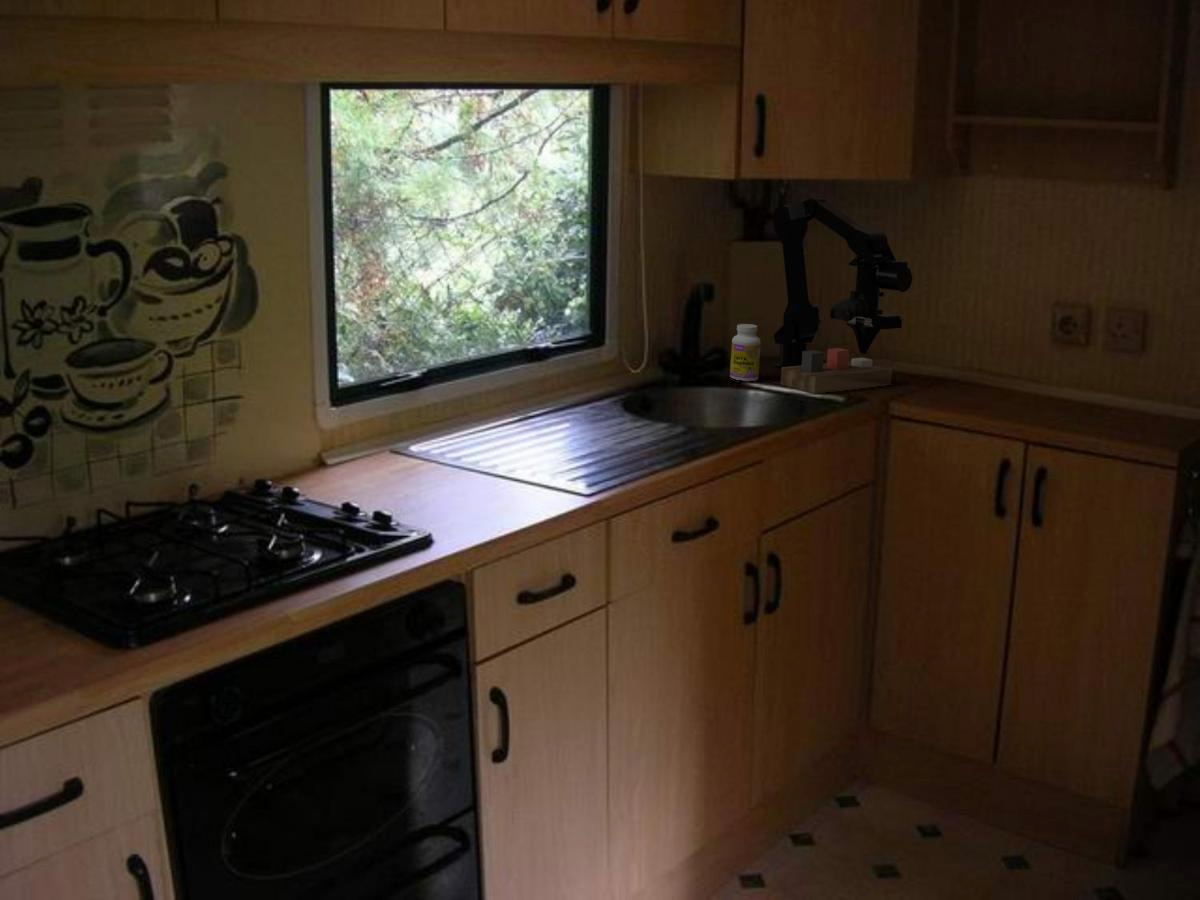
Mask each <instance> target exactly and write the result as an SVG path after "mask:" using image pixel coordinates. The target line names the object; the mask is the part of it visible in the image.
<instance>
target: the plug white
mask: <svg viewBox="0 0 1200 900" xmlns="http://www.w3.org/2000/svg"><path fill="white" fill-rule="evenodd" d="M851 360H852V363H851V365H852V366H856V367H860V368H864V367H872V364H873V359H870V358H867V357H866V358H865V357H856V358H853V357H852V358H851Z"/></svg>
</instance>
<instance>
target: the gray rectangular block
mask: <svg viewBox="0 0 1200 900" xmlns="http://www.w3.org/2000/svg"><path fill="white" fill-rule="evenodd" d="M824 354H825V353H824V352H823V351H818V350H814V349H813V350H806V351H802V368H801V370H802V371H805V372H809V373H815V372H823V363H824V356H825V355H824Z"/></svg>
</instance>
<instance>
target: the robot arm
mask: <svg viewBox="0 0 1200 900" xmlns="http://www.w3.org/2000/svg"><path fill="white" fill-rule="evenodd" d="M771 219H772V224H773V230H774V233H775V235H776V236H777V238H778V240H779V241H780V242H781V245H782V252H783V253H782V255H783V262H784V263H783V264H784V274H785V283H786V292H787V305H786V308H785V310H784V313H783V318H782V321H783V322H782V325H781V327H779V328H778V329H777V331H776V332H775V333H773V338H774V343H775V344H777V345H779V348H780V349H779V363H774V367H776V368H781V369H782V367H791V366H801V365H802V351H807V348H808V347H807V344H808V343H813V340H814V337H815V335H816V333H817V332H818V331H819V324H821V320H820V316H819V314H820V313H819V312H820V310H819V307H818V306H813V305H812V304H811V301H810V300H809V299H810V298H809V291H808V282H807V279H808V278H807V270H806V261H805V260H806V259H805V251H804V238H805V236H806V234H807V232H808V228H809V227H808V226H809V222H811V221H813V220H815V219H816V220H817V221H818V222H820V223H821V224H823V226H825V227H826V228H828V229H829V230H831V231H832V232H834V233H835V234H837V235H838V236H840V237H841V238H842V239H843V240H845V242H846V243H847V246H848V248H849V249H850V250H851V252H852V253H853V254H855V256H854V258H853V259H852V260H851V261H849V262H848V266H851V267H856V268H855V269H856V270H855V271H856V272H855V284H854V290H850V292H849V298H847V299H843V300H842V301H840V302H838V303H836V304H834V305H833V306H832V308H831V309H830V314H829V315H830V317H829V318H830V319H832V320H836V321H839V320H840V321H843V322H846V323H845V325H847V326H849V327H850V328H851V330H853V332H854V335H855V339H856V342H857V346H858V349H859V350H858V351H859V354H861V355H866V354H867V353H868V351H869V349H870V347H871V345H872V344H873V343H874V340H875V338H876V337H877V336H878V334H879V332H880V331H881V330H893V329H894V330H895V329H902V328H903V327H902V326H903V319H902V317H901V316H900V315H898V314H892V313H883V309H880V297H882V298H883V297H884V295H885V291H893V292H899V293H905V292H907V291H908V290H909V289H910V288H911V285H912V283H913V275H912V271H911V269H910V268H909V267H908V263H909V262H908V261H903V260H902V261H901V260H899V261H898V260H897V259H896V257H895V255H894V252H893V251H892V248H891V247H890V245H889V243H888V236H886V234H885V233H884V232H881V231H879V230H878V229H875V228H872V227H869V226H865V225H862V224H859V223H858V222H856V221H855V220H853V219H852V218H851V217H849V216H848V215H846V213H843V212H842V211H840V210H839V209H838V208H836V207H835V206H833V205H831V204H830V203H829V202H828V201H827V200H826V199H825V198H823V197H816V198H815V197H814V198H808V199H805V200H803V201H802V202H798V203H794V204H791V205H789V204H788V205H780V206H777V208H775V210H774V211H773V212H772V216H771ZM881 290H885V291H881Z"/></svg>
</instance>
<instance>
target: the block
mask: <svg viewBox="0 0 1200 900" xmlns="http://www.w3.org/2000/svg"><path fill="white" fill-rule="evenodd" d="M851 363H852V359H851V360H848V369H844V370H833V369H829V368H827V362H823V372H815V373H809V372H805V371H802V370H801V368H802V365H801V366H791V367H782V368H781V371H780V372H781V373H780V374H781V376H780V385H781V384H782V386H784V385H785V387H788V388H791V389H795V390H798V389H799V391H801V390H802V392H805V391H806V392H805V393H808V392H809V393H808V394H812V393H813V394H812V395H818V394H817V393H821V394H827V393H826V392H830V393H836V392H837V391H839V392H846V391H845V390H848V391H854V390H853V389H856V390H860V389H859V388H865V389H869V388H868V387H874V388H877V387H876V386H883V387H886V386H885V385H891V386H892V378H893V368H891V367H888V366H883V365H880V364H877V363H876V364H875V363H872V367H864V368H860V367H856V366H852V365H851ZM837 393H838V392H837Z"/></svg>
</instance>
